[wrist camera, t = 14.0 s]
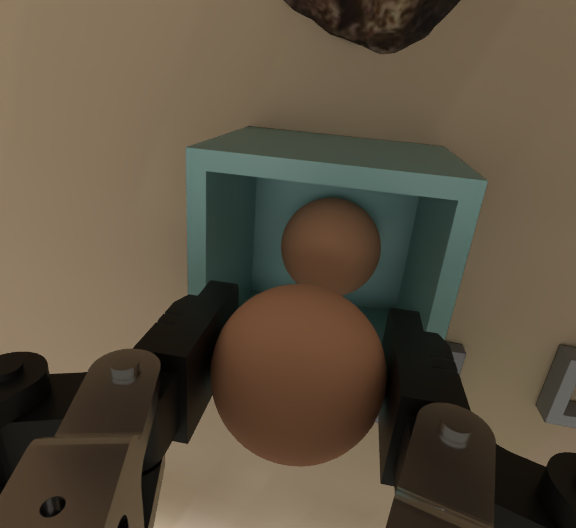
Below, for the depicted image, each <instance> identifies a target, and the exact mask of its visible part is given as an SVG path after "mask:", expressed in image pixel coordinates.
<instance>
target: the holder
mask: <svg viewBox="0 0 576 528" xmlns="http://www.w3.org/2000/svg"><path fill="white" fill-rule="evenodd" d="M575 386H576V347H570V346H564V345H560V346H559V349H558V351H557V354H556V356H555V359H554V361H553V364H552V366H551V369H550V371H549V374H548V376H547V379H546V381H545V384H544V386H543V389H542V391H541V394H540V396H539V399H538V401H537V404H536V407H537V408H538V410H539V412H540V414H541V416H542V418H543V420H544V422H545V423H550V424H555V425H561V426H567V427H572V428H576V402H573V401H569V400H570V398H571V395H572V393H573V391H574V388H575Z"/></svg>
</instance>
